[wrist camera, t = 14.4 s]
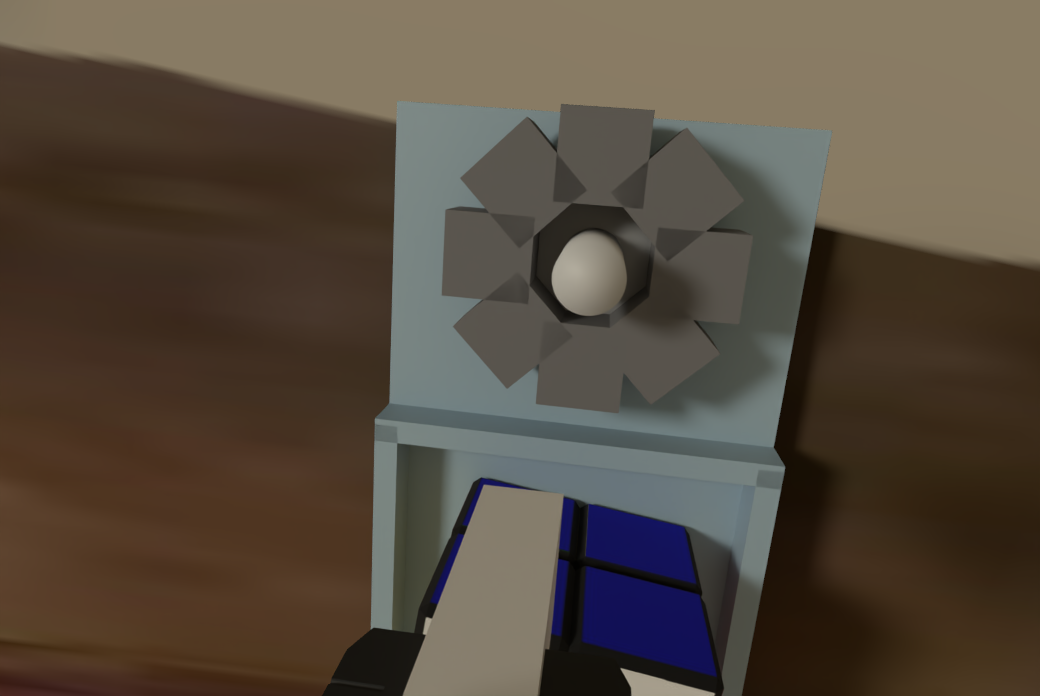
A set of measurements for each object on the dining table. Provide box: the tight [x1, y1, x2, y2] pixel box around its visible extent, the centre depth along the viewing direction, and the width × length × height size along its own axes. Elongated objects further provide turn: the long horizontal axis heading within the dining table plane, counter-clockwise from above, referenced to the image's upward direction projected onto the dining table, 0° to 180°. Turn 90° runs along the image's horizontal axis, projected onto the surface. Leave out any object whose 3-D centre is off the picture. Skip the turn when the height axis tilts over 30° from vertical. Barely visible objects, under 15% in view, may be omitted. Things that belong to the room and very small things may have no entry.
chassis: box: [371, 101, 832, 696], centre depth 28 cm, size 30×17×8 cm, turn 176°
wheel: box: [442, 104, 753, 413], centre depth 26 cm, size 11×11×2 cm
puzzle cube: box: [414, 477, 724, 696], centre depth 27 cm, size 10×10×10 cm
